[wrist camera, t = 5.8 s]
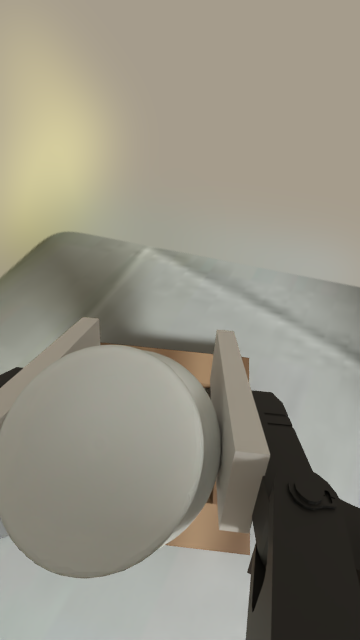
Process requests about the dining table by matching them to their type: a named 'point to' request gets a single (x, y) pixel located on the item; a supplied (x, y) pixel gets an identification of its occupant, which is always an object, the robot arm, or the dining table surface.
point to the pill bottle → (106, 459)
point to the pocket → (206, 523)
